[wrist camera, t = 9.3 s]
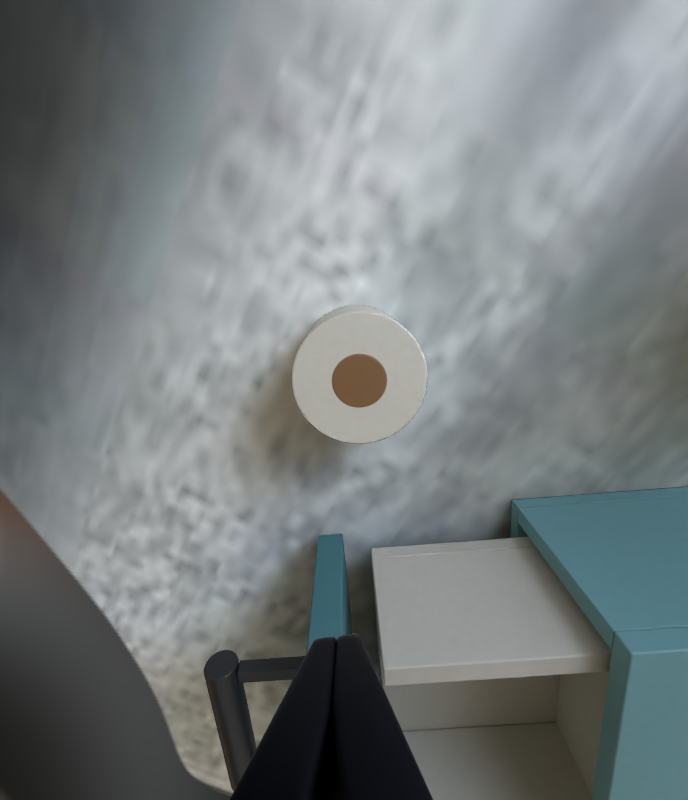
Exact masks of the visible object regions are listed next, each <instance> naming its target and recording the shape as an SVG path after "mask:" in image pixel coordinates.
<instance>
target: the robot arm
mask: <svg viewBox="0 0 688 800" xmlns="http://www.w3.org/2000/svg"><path fill="white" fill-rule="evenodd" d="M230 800H433V798H432V796H431V794H430V791H429V789H428V787H427V785H426V783H425V780H424V778H423V776H422V774H421V771H420V769H419V767H418V765H417V762H416V760H415V758H414V756H413V753H412V751H411V749H410V747H409V744H408V742H407V740H406V738H405V736H404V733H403V731H402V729H401V727H400V724H399V722H398V720H397V718H396V715H395V713H394V711H393V709H392V706H391V704H390V702H389V700H388V697H387V695H386V693H385V691H384V689H383V686H382V684H381V682H380V680H379V677H378V675H377V673H376V671H375V668H374V666H373V664H372V662H371V659H370V657H369V655H368V653H367V651H366V648H365V646H364V644H363V642H362V639H361V637H360V636H359V635H358V634H349V635H341V636H339V637H338V639H336V638H335V637H326V638H318V639H316V640H314V642H313V643H312V645H311V647H310V649H309V651H308V652H307V654H306V656H305V658H304V660H303V662H302V664H301V666H300V668H299V669H298V671H297V673H296V675H295V677H294V679H293V681H292V683H291V685H290V687H289V688H288V690H287V692H286V694H285V696H284V698H283V700H282V702H281V704H280V705H279V707H278V709H277V711H276V713H275V715H274V717H273V719H272V721H271V723H270V724H269V726H268V728H267V730H266V732H265V734H264V736H263V738H262V740H261V741H260V743H259V745H258V747H257V749H256V751H255V753H254V755H253V757H252V759H251V760H250V762H249V764H248V766H247V768H246V770H245V772H244V774H243V776H242V777H241V779H240V781H239V783H238V785H237V787H236V789H235V791H234V793H233V795H232V796H231V798H230Z"/></svg>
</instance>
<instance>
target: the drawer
mask: <svg viewBox="0 0 688 800" xmlns="http://www.w3.org/2000/svg"><path fill="white" fill-rule="evenodd" d="M371 560H372V573H373V586H374V598H375V611H376V624H377V637H378V650H379V663H380V676H381V684H382V686H383V689H384V691H385V693H386V695H387V697H388V700H389V702H390V704H391V706H392V709H393V711H394V713H395V715H396V718H397V720H398V722H399V724H400V727H401V729H402V731H403V733H404V736H405V738H406V740H407V742H408V744H409V747H410V749H411V751H412V753H413V756H414V758H415V760H416V762H417V765H418V767H419V769H420V771H421V774H422V776H423V778H424V780H425V783H426V785H427V787H428V789H429V791H430V794H431V796H432V798H433V800H592V793H593V786H594V778H595V771H596V764H597V757H598V749H599V742H600V735H601V727H602V720H603V713H604V706H605V698H606V691H607V684H608V676H609V669H610V662H611V654H612V650H611V649H610V648H609V646H608V645H607V644H606V642H605V641H604V639H603V638H602V637H601V635H600V634H599V633H598V631H597V630H596V629H595V627H594V626H593V624H592V623H591V622H590V620H589V619H588V618H587V616H586V615H585V613H584V612H583V611H582V609H581V608H580V607H579V605H578V604H577V602H576V601H575V600H574V598H573V597H572V596H571V594H570V593H569V592H568V590H567V589H566V587H565V586H564V585H563V583H562V582H561V581H560V579H559V578H558V576H557V575H556V574H555V572H554V571H553V570H552V568H551V567H550V565H549V564H548V563H547V561H546V560H545V559H544V557H543V556H542V555H541V553H540V552H539V550H538V549H537V548H536V546H535V545H534V544H533V542H532V541H531V539H530V538H529V537H518V538H504V539H491V540H477V541H464V542H450V543H436V544H423V545H409V546H396V547H382V548H372V549H371ZM349 634H352V624H351V614H350V604H349V594H348V584H347V574H346V564H345V554H344V544H343V535H342V534H335V535H322V536H318V543H317V553H316V563H315V574H314V584H313V594H312V604H311V614H310V625H309V635H308V645H307V652H308V651H309V649H310V647H311V645H312V643H313V642H314V640H316V639H318V638H326V637H335V638H336V639H338V637H339V636H341V635H349ZM304 658H305V656H299V657H285V658H270V659H255V660H241V661H240V663H239V661H238V657H237V655H236V654H235V653H234V652H233V651H231V650H222V651H219V652H217V653H215V654H214V655H212V656H211V657H210V658H209V659H208V661H207V662H206V664H205V667H204V676H205V680H206V684H207V688H208V692H209V696H210V701H211V705H212V709H213V713H214V717H215V721H216V725H217V729H218V733H219V738H220V742H221V746H222V750H223V754H224V758H225V762H226V766H227V771H228V775H229V779H230V783H231V787H232V789H233V791H235V789H236V787H237V785H238V783H239V781H240V779H241V777H242V776H243V774H244V772H245V770H246V768H247V766H248V764H249V762H250V760H251V759H252V757H253V755H254V753H255V751H256V749H257V748H256V743H255V738H254V733H253V728H252V723H251V719H250V714H249V709H248V704H247V699H246V695H245V690H244V685H243V683H245V682H260V681H275V680H290V679H294V677H295V675H296V673H297V671H298V669H299V668H300V666H301V664H302V662H303V660H304Z"/></svg>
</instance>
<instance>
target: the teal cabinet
mask: <svg viewBox="0 0 688 800" xmlns="http://www.w3.org/2000/svg"><path fill="white" fill-rule="evenodd" d="M518 537H529V538H530V539H531V541H532V542H533V544H534V545H535V546H536V548H537V549H538V550H539V552H540V553H541V555H542V556H543V557H544V559H545V560H546V561H547V563H548V564H549V565H550V567H551V568H552V570H553V571H554V572H555V574H556V575H557V576H558V578H559V579H560V581H561V582H562V583H563V585H564V586H565V587H566V589H567V590H568V592H569V593H570V594H571V596H572V597H573V598H574V600H575V601H576V602H577V604H578V605H579V607H580V608H581V609H582V611H583V612H584V613H585V615H586V616H587V618H588V619H589V620H590V622H591V623H592V624H593V626H594V627H595V629H596V630H597V631H598V633H599V634H600V635H601V637H602V638H603V639H604V641H605V642H606V644H607V645H608V646H609V648H610V649H611V650H612V654H611V662H610V669H609V676H608V684H607V691H606V698H605V706H604V713H603V720H602V727H601V735H600V742H599V749H598V757H597V764H596V771H595V778H594V786H593V793H592V800H688V487H675V488H662V489H648V490H635V491H622V492H609V493H596V494H583V495H569V496H556V497H543V498H530V499H517V500H512V513H511V538H518Z"/></svg>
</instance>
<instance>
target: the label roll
mask: <svg viewBox="0 0 688 800" xmlns="http://www.w3.org/2000/svg"><path fill="white" fill-rule="evenodd" d="M291 382H292V390H293V394H294V398H295V401H296V403H297V406H298V408H299V410H300V411H301V413H302V414H303V416H304V417H305V418H306V420H307V421H308V422H309V423H310V424H311V425H312V426H313V427H314V428H315V429H317V430H318V431H319V432H321V433H322V434H324V435H326V436H328V437H330V438H332V439H335V440H338V441H341V442H345V443H352V444H364V443H372V442H376V441H380V440H382V439H385V438H387V437H389V436H391V435H393V434H395V433H397V432H398V431H400V430H401V429H402V428H403V427H404V426H406V425H407V424H408V423H409V422H410V421H411V419H412V418H413V417H414V416H415V414H416V413H417V411H418V410H419V408H420V406H421V404H422V401H423V399H424V396H425V392H426V388H427V366H426V361H425V358H424V355H423V352H422V350H421V348H420V346H419V344H418V342H417V341H416V340H415V338H414V337H413V336H412V334H411V333H410V332H409V331H408V330H407V329H406V328H404V327H403V326H402V325H401V324H400V323H398V322H397V321H395V320H394V319H393V318H391V317H390V316H389V315H387V314H385V313H384V312H382V311H380V310H378V309H376V308H372V307H369V306H363V305H350V306H344V307H340V308H337V309H335V310H333V311H331V312H329V313H327V314H326V315H324V316H323V317H322V318H320V319H319V320H318V321H317V322H316V323H315V325H314V326H313V327H312V329H311V330H310V331H309V333H308V334H307V336H306V337H305V339H304V340H303V342H302V343H301V345H300V347H299V349H298V351H297V353H296V356H295V358H294V362H293V366H292V374H291Z"/></svg>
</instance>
